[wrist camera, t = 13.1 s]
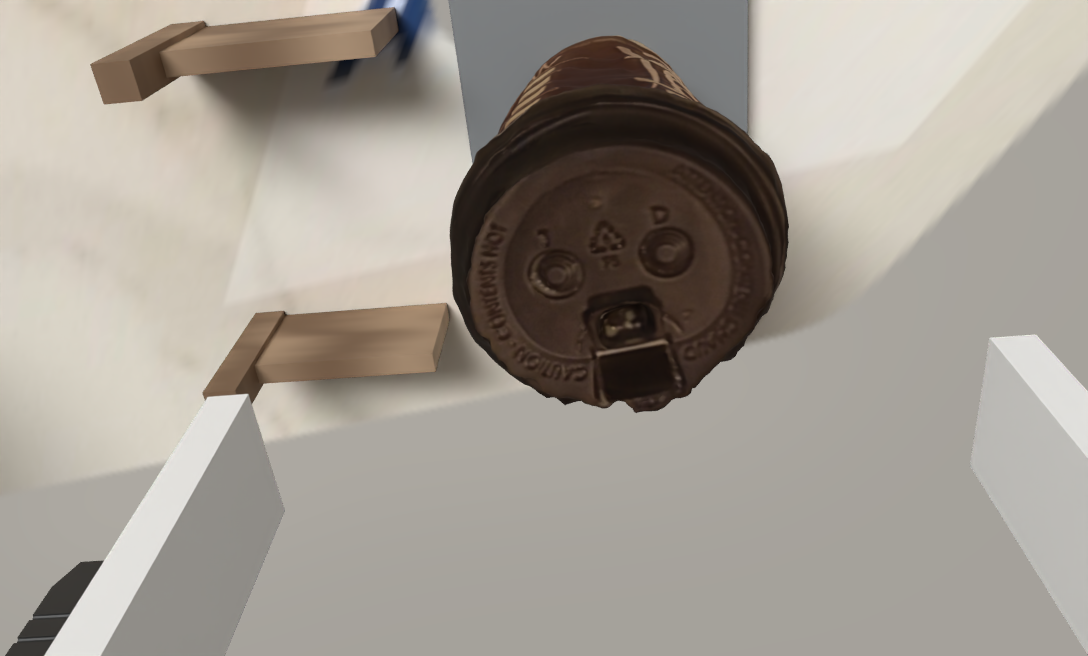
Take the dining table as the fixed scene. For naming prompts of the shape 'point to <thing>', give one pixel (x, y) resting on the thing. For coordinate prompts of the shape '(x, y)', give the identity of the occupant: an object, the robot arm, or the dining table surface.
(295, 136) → the dining table surface
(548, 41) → the coaster
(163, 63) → the cup holder rails
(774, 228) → the coffee cup
